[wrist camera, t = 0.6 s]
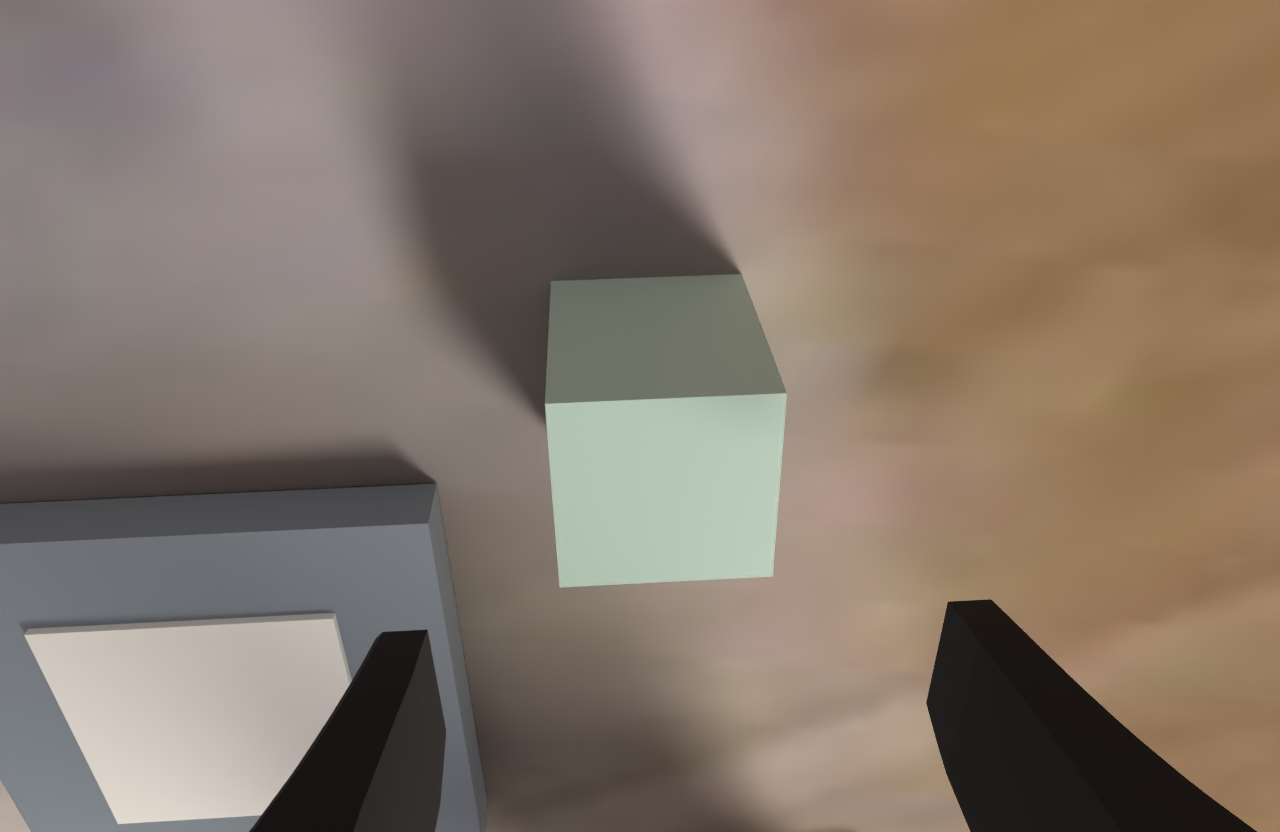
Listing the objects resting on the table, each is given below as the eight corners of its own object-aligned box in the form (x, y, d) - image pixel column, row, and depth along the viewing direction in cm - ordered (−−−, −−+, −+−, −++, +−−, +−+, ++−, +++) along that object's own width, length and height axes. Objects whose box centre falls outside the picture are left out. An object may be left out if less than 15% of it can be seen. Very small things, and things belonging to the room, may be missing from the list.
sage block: (733, 432, 22) (772, 576, 18) (561, 440, 22) (559, 587, 18) (741, 273, 20) (787, 393, 16) (550, 280, 20) (544, 403, 15)
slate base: (487, 805, 28) (483, 857, 27) (81, 830, 28) (54, 884, 27) (436, 483, 22) (426, 529, 21) (-91, 507, 22) (-138, 556, 20)
